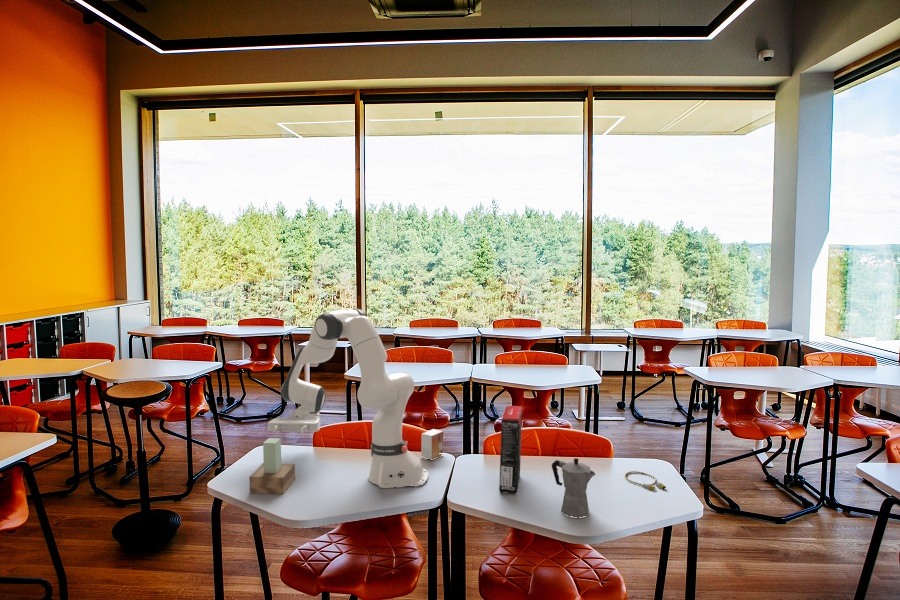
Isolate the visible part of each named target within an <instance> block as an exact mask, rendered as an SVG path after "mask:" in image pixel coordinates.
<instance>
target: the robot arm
mask: <svg viewBox="0 0 900 600" xmlns="http://www.w3.org/2000/svg"><path fill="white" fill-rule="evenodd" d="M338 339H347V340H348V341H349V343H350V346H351V348H352V351H353V353H354V356H355V359H356V361H357V363H358V367H359V370H360V378H361V379H360V385H359V387H358V389H357V394H356V395H357V396H356V397H357V400H358V403H359V404H360V406H361V407H362V408H364V409H365V410H378V411H377V413H376V415H375V416H374V417H373V419H372V423H371V426H372V428H371V430H372V431H371V437H372V438H371V439H372V440H371V442H370V443H371V444H370V454H371V456H370V457H371V464H370V470H369V473H368V478H367V479H368V481H369V482H370V483H372V484H375V485H377V486H378V487H379V488H380V489H393V488H394V487H396V488H405V487H404V486H411V485H422V484H424V483H425V482H426V481H427V482H428V480H429V471H428V470H427V469H425V468H424V467H423V465H422V461H421V459H420V457H418V456H416V454H414V453H412V451H409V450H408V440H406V441H405V440H404V439H403V421H404V420H403V419H404V415H405V410H406V406H407V404H408V401H409V399H410V397H411V396H412V395H413V393H414V392H415V391H414V390H415V382H414V379H413V378H412V376H411V375H410V374H408V373H407V372H393V373H389V374H386V369H385V364H386V362H387V360H388V353H387V350H386V348H385V346H384V344H383V341H382V339H381V337H380V335H379V333H378V331H377V329H376V327H375V325H374V324H373V323H372V321H371V320H370V319H369V317H367V314H366V313H365V311H364V310H362V309H360V308H350V309H349V308H348V309H338V310H333V311H330V312H329V311H328V312H324V313H322V314H320V315H318V316H317V317H316V319H315V320H314V323H313V326H312V329H311V333H310V335H309V340H308V342H307V344H306V345H305V346H302V347H300V348H299V350H298V351H297V352H296V355H295V357H294V360H293V362H292V364H291V366H290V369H289V371H288V373H287V376H286V378H285V380H284V382H283V384H282V385H281V388H280V396H281V397H282V399H283V401H286V402H290V403H295V404H298V405H299V406H297V408H296V409H294V411H292V412H291V413H290V414H289V415H288V417H275V418H273V419H270V420H269V421H268V422H267V431H269V432H273V433H274V434H279V433H280V432H288V433H289V432H296V433H297V434H303V433H305V432H306V433H317V432H319V431H320V429H321V421H322V420H321V413H320V411H322V409H323V407H324V405H325V402H326V398H327V395H326V394H327V393H326V391H325V389H324V386H321V385H319V384H314V383H311V382H308V381H305V380H302V379H300V378H299V376H300V374H301V372H302V369H303V366H304V365H306V364H322V363H325V362H327V361H329V360H331V358H332V357H333V356H334V355H335V351H336V348H337V344H338ZM427 479H428V480H427ZM427 482H426V483H427ZM426 483H425V484H426ZM425 484H424V485H425ZM422 486H423V485H422Z"/></svg>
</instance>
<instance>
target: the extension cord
mask: <svg viewBox="0 0 900 600" xmlns="http://www.w3.org/2000/svg"><path fill="white" fill-rule="evenodd" d="M629 473H641V474H640V475H644V474H646V475H645V476H647V475H649V476H651V477H650V478H652V477H653V478H652V479H654V478H655V479H656V480H657V478H656V477H655V476H653V475H651V474H650V473H649V474H648V473H645V472H642V471H633V470H631V471H628V472H626V473H625V475H624V479H625V478H626V479H627V480H628V481H629V482H631V483H630V484H632V483H636V484H639V485H638V486H642V487H643V488H644V487H645V488H644V489H646V488H648V489H647V490H649V489H651V490H650V491H652V490H653V491H655V490H656V487H657V488H659V487H660V488H659V489H661V488H662V489H661V490H664V489H663V488H667V486H666V485H664V484H663V483H661V482H659V481H656V480H655V479H654V482H653V483H651V484H650V483H648V484H647V483H639V482H635V481H632V480H629V478H628V477H627V476H628V475H630V474H629ZM627 474H628V475H627ZM626 475H627V476H626ZM649 476H648V477H649ZM626 479H625V480H626ZM654 483H655V484H654ZM636 484H635V485H636ZM642 484H643V485H642ZM652 484H653V485H652ZM654 485H656V486H654ZM654 489H655V490H654Z"/></svg>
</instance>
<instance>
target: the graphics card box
mask: <svg viewBox="0 0 900 600" xmlns="http://www.w3.org/2000/svg"><path fill="white" fill-rule="evenodd" d="M522 420H523V406H520V405H519V406H518V405H508V406H505V409H504V411H503V415H502V418H501V423H500V424H501V427H500V428H501V430H500V452H499V453H500V455H499V486H498V487H499V488H498V490H499V491H500V492H499V493H502V492H508V493H507V494H511V493H518V490H519V484H520V477H521V459H522V457H521V456H522V453H521V452H522V424H523V423H522V422H523V421H522ZM518 483H519V484H518ZM517 489H518V490H517Z"/></svg>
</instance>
